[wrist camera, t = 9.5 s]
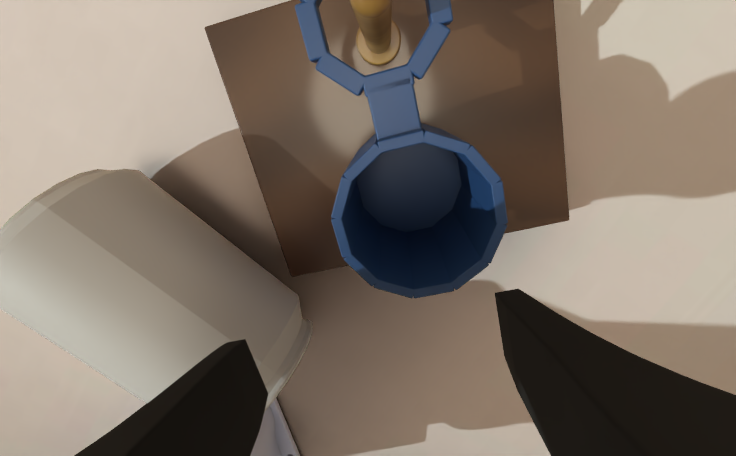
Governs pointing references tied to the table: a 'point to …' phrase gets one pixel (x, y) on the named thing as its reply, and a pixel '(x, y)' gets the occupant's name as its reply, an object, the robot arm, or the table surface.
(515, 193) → the peg stand
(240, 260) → the can
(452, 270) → the cup
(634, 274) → the table surface
